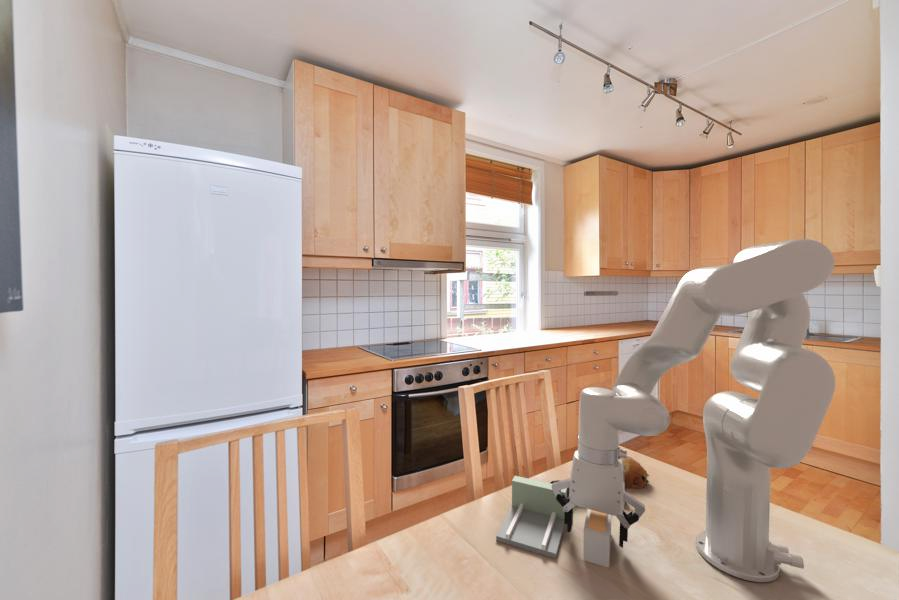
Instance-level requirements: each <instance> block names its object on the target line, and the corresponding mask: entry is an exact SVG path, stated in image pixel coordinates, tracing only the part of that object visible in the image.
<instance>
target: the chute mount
mask: <svg viewBox="0 0 899 600" xmlns="http://www.w3.org/2000/svg"><path fill="white" fill-rule="evenodd" d="M561 492H562V493H563V495H564V496H565V497H566V498H567V488H565V489H561ZM564 515H565V511H564V510H563V507H562V506H561V505H560V503H559V502H558V501H557V499H556V496H555V494H554V492H553V490H552V484H550V482H546V481H540V480H536V479H531V478H529V477H523V476H520V475H519V476H518V475H514V476H513V478H512V480H511V507H510V509H509V511H508V513H507V515H506V516H505V518H504V521H503V522H502V524H501V526H500V528H499V530H498V532H497V533H496V535H495V536H496V538H495V540H496V542H500V543H502V544H507V545H509V546H512V547H515V548H516V547H517V548H519V549H522V550H526V551H529V552H532V553H536V554H539V555H542V556H546V557H548V558H551V559H552V558H553V559H557V556H558V553H559V549H560V546H561V541H562V538H563V534H564V530H565V526H566V524H564Z"/></svg>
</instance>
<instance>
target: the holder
mask: <svg viewBox="0 0 899 600" xmlns="http://www.w3.org/2000/svg"><path fill="white" fill-rule="evenodd" d="M583 526H584V527H583V542H582V543H583V546H582V547H583V548H582V549H583V555H582V557H583V560H582V561H585V562H589V563H593V564H595V565H599V566H602V567H606V568H610V559H611V558H610V557H611V543H612V542H611V541H612V515H609V514H605V513H601V512H598V511H594V510H590V509H587V510H586V515H585V521H584V525H583Z"/></svg>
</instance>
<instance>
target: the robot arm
mask: <svg viewBox="0 0 899 600" xmlns="http://www.w3.org/2000/svg"><path fill="white" fill-rule="evenodd" d="M834 268H835V258H834V254H833V253H832V251H831V249H830V248H828V246H827V245H825V244H823V243H822V242H820V241H818V240H815V239H808V238H795V239H789V240H783V241H775V242H767V243H760V244H757V245H752V246H749V247H746V248H744V249H742V250H740V251H739V252H738V253H736V255H735V256H734V258H733V261H732V263H729V264H725V265H717V266H716V265H715V266H706V267H705V266H704V267H699V268H695V269H692V270H689V271H688V272H687V273H685V274H684V275H683V277H682V278H681V279H680V280H679V282H678V283H677V286H676V288H675V289H674V291H673V293H672V295H671V297H670V299H669V301H668V303H667V305H666V306H665V308H664V311H663V312H662V315H661V317H660V318H659V320H658V323H657V324H656V326H655V328H654V329H653V331H652V333H651V334H650V336H649V337H648V339H646V340H644V342H643V343H642V344H641V345H640V346H639V347H638V349H636V350H635V352H633V354H631V356H630V357H629V358H628V360H627V361H626V363H625V364H624V366H623V368H622V369H621V370H620V373H619V375H618V376H617V378H616V381H615V382H614V384H613V387H612V389H608V388H604V387H597V386H596V387H595V386H593V387H586V388H584V389H582V390H581V392H580V394H579V400H578V401H579V406H578V432H577V434H578V435H577V437H578V438H577V450H575V451H574V453H573V457H572V462H571V470H570V475H569V477H570V478H567V479H563V480H560V481H559V480H558V482H554V483H553V484H552V490H553V492H554V494H555V496H556V499H557V501H558V502H559V503H560V505H561V506H562V507H563V510H564V511H565V515H564V524H565V526H566V532H568V533H571V532H572V529H573V525H574V520H573V519H574V508H575V507H576V506H577V507H580V508H583V509H590V510H594V511H598V512H601V513H605V514H609V515H611V516H615V517H616V518H617V520H618V521H619V538H618V546H619V547H620V548H622V549H623V548H624V542H627V543H628V537H629V536H628V535H629V532H628V530H629V528H630V527H631V526H632V525H633V524H636V523H637V522H638V521H639V520H640V518H641V517H642V516H643V515H644V514H645V512H646V506H645V504H644V503H643V502H641V501H639V500H638V499H637V498H636V497H634V496H633V495H631V494H629V493H628V492H627V491H626V492H625V490H626V487H625V483H624V469H623V463H622V460H621V459H620V458H627V456H628V454H627V453H628V451H627V450H623V449H621V447H620V431H622V432H626V433H631V434H634V435H639V436H645V437H653V436H658V435H661V434H663V432H665V431H666V430H667V429H668V427H669V425H670V423H671V416H670V413H669V410H668V408H667V407H666V406H665V404H664V403H663V402H661V400H659V399H658V398H657V397H655V396H654V395H653V394H652V393H653V390H654V388H655V387H656V386H657V383H658V382H659V380H660V379H661V378H662V376H664V374H665V373H666V372H668V371H669V370H670V369H672V368H674V367H677V366H679V365H681V364H685V363H687V362H689V361H692V360H694V359H697V358H698V357H699V356H700V354H702V353H701V352H702V351H703V349H704V347H705V345H706V343H707V342H708V339H709V337H710V335H711V334H712V332H713V330H714V328H715V326H716V325H717V323H718V321H719V319H720V318H721V316H722V315H723V316H737V315H743V314H746V313H747V314H748V316H747V320H746V323H745V325H744V329H743V331H742V332H741V336H740V338H739V341H738V343H737V345H736V346H735V347H736V348H735V350H734V352H733V355H732V357H731V361H730V365H729V369H730V374H731V375H732V377H733V379H734V380H735V381H737V383H739V384H741V385H742V386H744V387H746V388H748V389H750V390H753V391H756V392H757V393H759V395H758V399H757V398H755V397H753V396H750V395H748V394H745V393H742V392H738V391H731V390H728V391H721V392H717V393H715V394H713V395H711V397H710V398H708V399H707V401H706V402H705V404H704V407H703V411H702V422H703V423H702V424H703V429H704V434H705V435H704V436H705V440H706V441H705V442H706V443H705V444H706V455H707V457H706V462H707V463H706V491H705V492H706V493H705V494H706V496H705V497H706V498H705V500H706V501H705V502H706V503H705V506H706V507H705V510H706V511H705V530H704V531H701V532H700V533H698V534H697V535H696V538H695V545H696V549H697V551H698V552H699V554H700V555H701V556H702V557H703V559H705V560H706V561H707V562H708V563H709V564H711V565H712V566H713V567H715V568H717V569H719V571H720V570H721V571H722V572H724V573H726V574H728V575H730V576H733V577H736V578H738V579H742V580H745V581H750V582H754V583H768V582H773V581H775V580H776V579H778V577H779V575H780V566H782V564H783V565H787V566H788V565H789V566H791V567H794V568H799V569H802V570H803V569H804V568H805V562H804V559H803V557H802V556H801V555H798V554H794V553H790V550H789V548H788V547H787V546H784V545H780V544H778V545H777V544H774V543H772V542H771V541H770V540H769V539H770V513H771V511H770V509H771V506H770V504H771V485H772V484H771V482H772V481H771V480H772V479H771V478H772V477H771V469H777V470H780V469H781V470H782V469H783V470H784V469H788V468H792V467H795V466H796V465H798V464H799V463H800V462H802V461H803V460H804V459H805V458H806V457H807V455H808V454H809V452H810V450H811V449H812V446H813V444H814V442H815V440H816V438H817V435H818V433H819V431H820V430H821V429H820V428H821V426H822V424H823V421H824V419H825V417H826V414H827V412H828V410H829V407H830V405H831V403H832V399H833V397H834V395H835V389H836V378H835V374H834V370H833V368H832V366H831V364H830V363H829V362H828V360H826V358H824V357H823V356H822V355H821V354H818V353H816V352H814V351H812V350H810V349H807V348H802V347H803V344H804V341H805V339H806V334H807V331H808V328H809V326H810V321H811V312H810V306H809V304H808V301H807V298H806V297H805V294H804V293H807V292H808V291H812V290H814V289H816V288H818V287H819V286H821V285H822V284H824V283H825V282H826V281H827V280H828V279H830V277H831V275H832V273H833V271H834ZM565 488H569V497H568V498H566V497H565V496H564V495H563V493H562V492H561V489H565ZM624 501H625V503H627V504H628V505H630V507H632V508H634V509H633V510H631V511H630V512H629V513H627V511H626V510H625V504H624Z"/></svg>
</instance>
